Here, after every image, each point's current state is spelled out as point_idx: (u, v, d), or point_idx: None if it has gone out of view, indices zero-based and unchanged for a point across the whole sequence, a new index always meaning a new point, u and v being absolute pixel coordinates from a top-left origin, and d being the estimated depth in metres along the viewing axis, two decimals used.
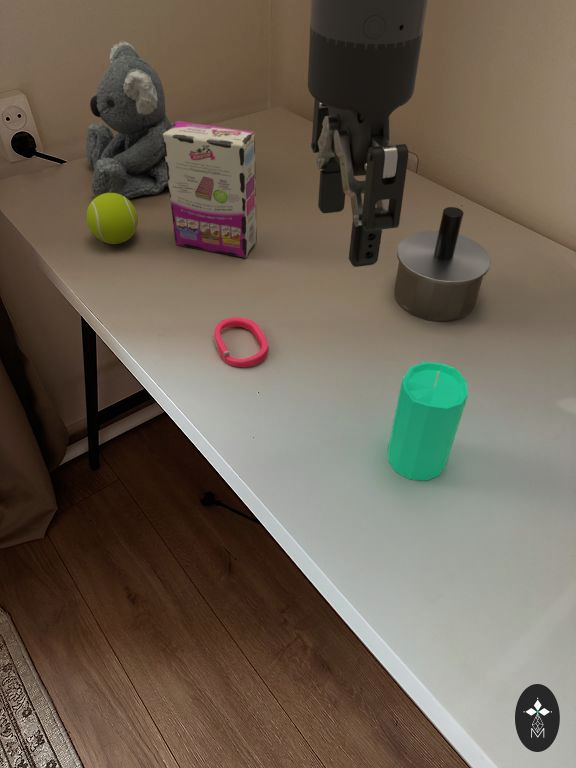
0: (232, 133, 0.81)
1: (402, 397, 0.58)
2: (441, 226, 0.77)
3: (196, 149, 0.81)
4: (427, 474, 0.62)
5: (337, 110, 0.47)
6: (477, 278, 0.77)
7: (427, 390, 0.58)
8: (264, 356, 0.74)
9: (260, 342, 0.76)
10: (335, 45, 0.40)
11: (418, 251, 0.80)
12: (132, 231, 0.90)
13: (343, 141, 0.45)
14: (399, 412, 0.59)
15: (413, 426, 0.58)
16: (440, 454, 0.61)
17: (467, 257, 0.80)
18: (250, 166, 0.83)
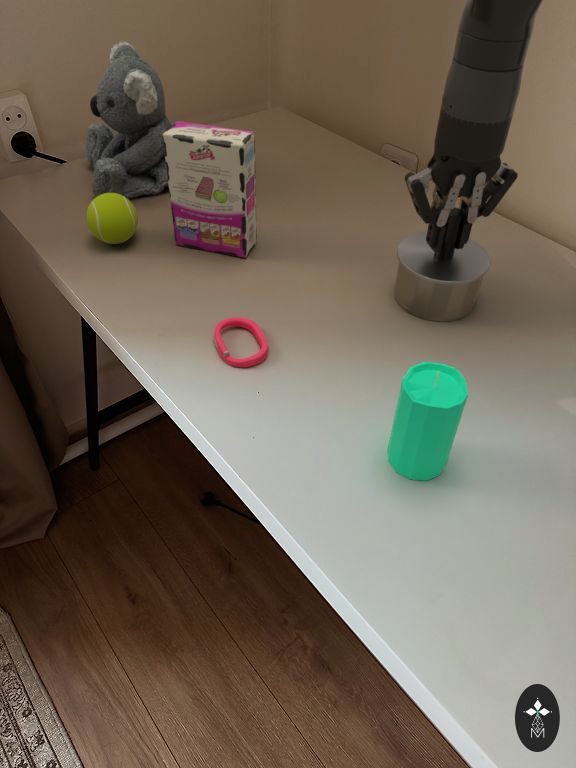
0: (232, 133, 0.81)
1: (402, 397, 0.58)
2: None
3: (196, 149, 0.81)
4: (427, 474, 0.62)
5: None
6: (477, 278, 0.77)
7: (427, 390, 0.58)
8: (264, 356, 0.74)
9: (260, 342, 0.76)
10: None
11: (418, 251, 0.80)
12: (132, 231, 0.90)
13: None
14: (399, 412, 0.59)
15: (413, 426, 0.58)
16: (440, 454, 0.61)
17: (467, 257, 0.80)
18: (249, 166, 0.83)
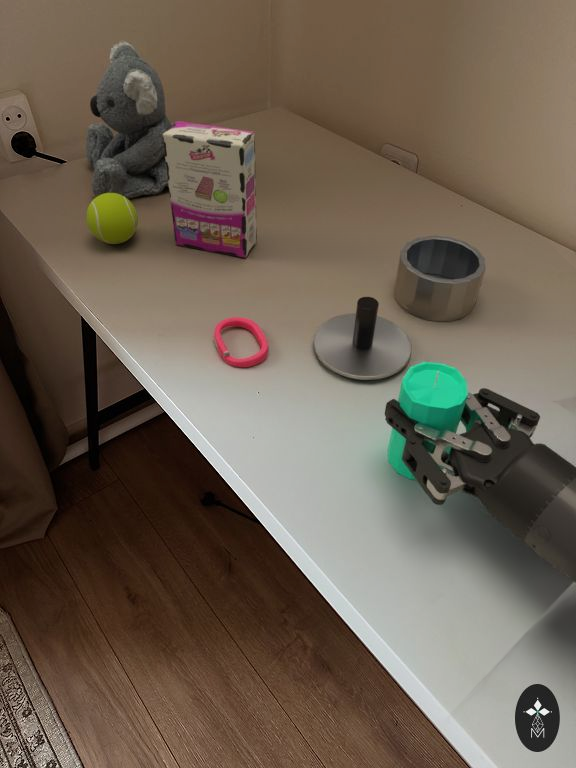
0: (232, 133, 0.81)
1: (402, 397, 0.58)
2: (356, 317, 0.73)
3: (196, 149, 0.81)
4: None
5: (510, 448, 0.55)
6: (394, 372, 0.73)
7: (427, 390, 0.58)
8: (264, 356, 0.74)
9: (260, 342, 0.76)
10: (545, 500, 0.49)
11: (336, 339, 0.76)
12: (132, 231, 0.90)
13: (479, 456, 0.54)
14: None
15: None
16: None
17: (387, 346, 0.75)
18: (250, 166, 0.83)
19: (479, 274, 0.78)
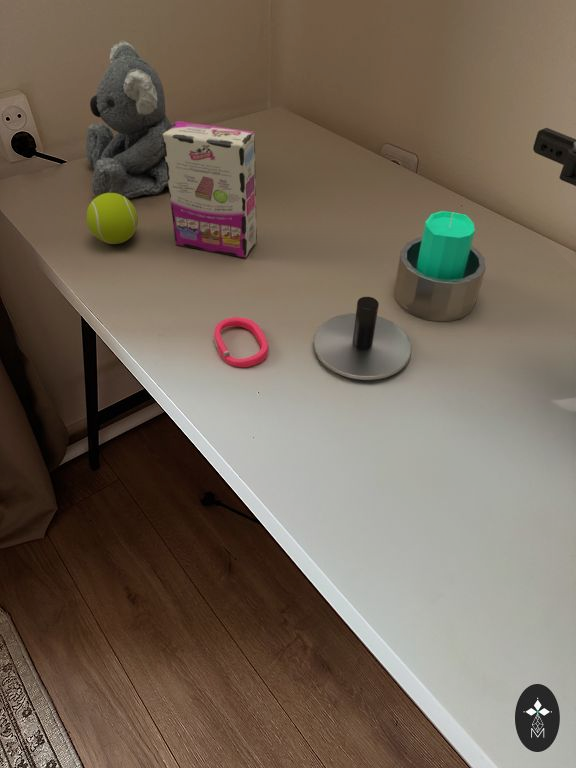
0: (232, 133, 0.81)
1: (425, 234, 0.77)
2: (356, 317, 0.73)
3: (195, 149, 0.81)
4: None
5: None
6: (394, 372, 0.73)
7: (444, 228, 0.77)
8: (264, 356, 0.74)
9: (260, 342, 0.76)
10: None
11: (336, 339, 0.76)
12: (132, 231, 0.90)
13: None
14: (422, 248, 0.78)
15: (434, 257, 0.77)
16: None
17: (387, 346, 0.75)
18: (249, 166, 0.83)
19: (479, 274, 0.78)
